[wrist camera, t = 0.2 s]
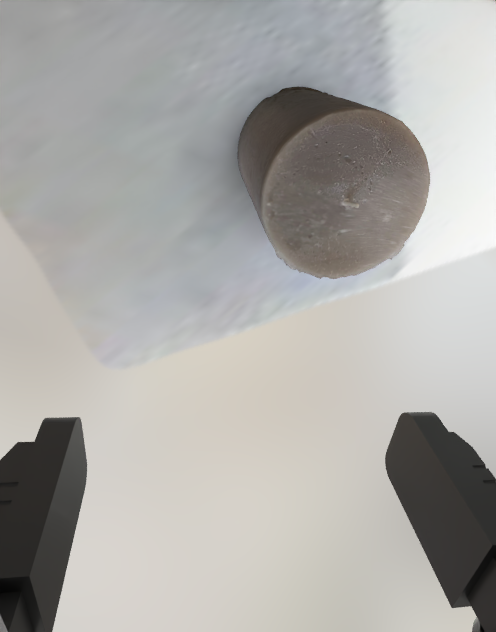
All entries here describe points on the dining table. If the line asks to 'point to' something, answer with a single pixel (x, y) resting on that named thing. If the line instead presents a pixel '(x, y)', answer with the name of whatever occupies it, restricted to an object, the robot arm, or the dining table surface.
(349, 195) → the pillar candle
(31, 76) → the dining table surface
